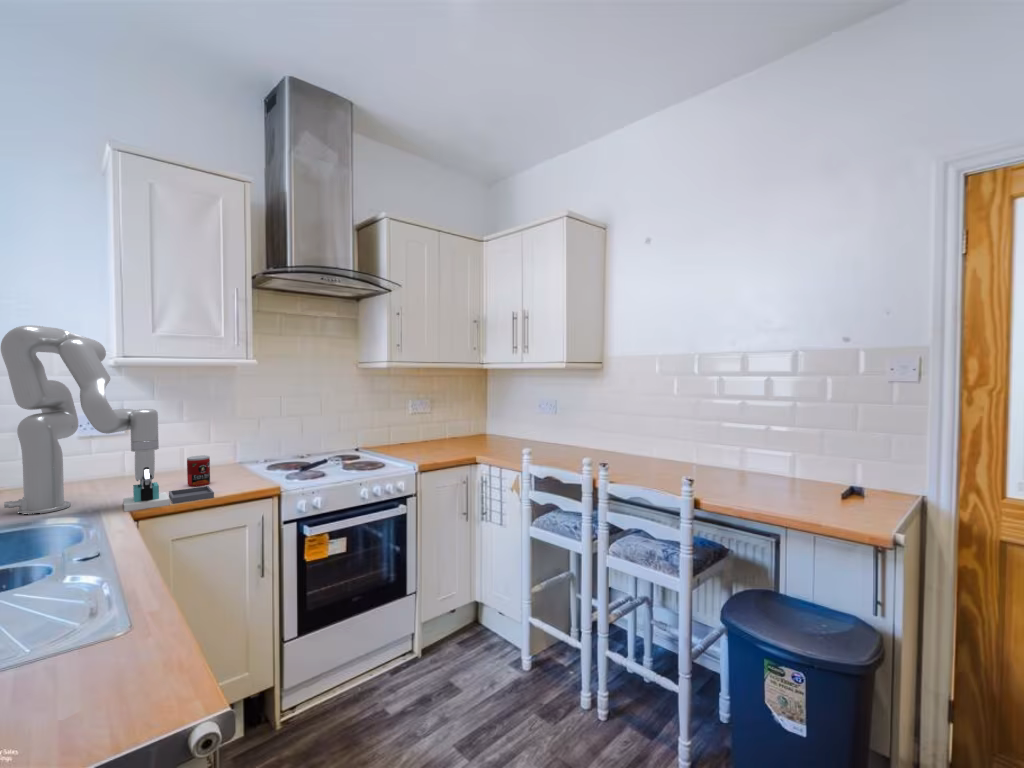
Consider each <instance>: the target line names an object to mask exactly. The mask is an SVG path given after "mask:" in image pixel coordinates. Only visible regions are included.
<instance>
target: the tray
mask: <svg viewBox="0 0 1024 768" xmlns="http://www.w3.org/2000/svg"><path fill="white" fill-rule="evenodd" d="M168 497H169V499H170V502H171V501H172V502H171V504H173V505H175V504H180V503H187V502H194V501H202V500H207V499H214V498H215V492H214V491H213V489H212V488H211V487H210V486H209V485H204V486H197V487H191V488H190V487H189V488H183V489H182V488H181V489H176V490H175V489H174V490H169V491H168Z"/></svg>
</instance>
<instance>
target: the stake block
mask: <svg viewBox="0 0 1024 768" xmlns="http://www.w3.org/2000/svg"><path fill="white" fill-rule="evenodd" d="M122 501H123V511H124V512H132V511H137V510H144V509H151V508H157V507H163V506H170V504H171V503H170V502H171V500H170V498H169V494H167V492H165V491H164V492H159V499H154V500H147V501H140V502H134V496H128V497H127V496H126V497H122Z"/></svg>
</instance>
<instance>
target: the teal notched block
mask: <svg viewBox="0 0 1024 768" xmlns="http://www.w3.org/2000/svg"><path fill="white" fill-rule="evenodd" d="M159 487H160V486H159V483H158V482H157V481H155V482H152V488H153V499H152V500H154V499H159V493H160V488H159ZM132 488H133V490H132V493H133V496H132V497H134V502H140V501H141V489H142V484H140V483H139V484H133V487H132Z"/></svg>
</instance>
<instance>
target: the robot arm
mask: <svg viewBox="0 0 1024 768" xmlns="http://www.w3.org/2000/svg"><path fill="white" fill-rule="evenodd" d="M0 353H1V356H2V360H3V363H4V365H5V367H6V371H7V374H8V379H9V383H10V386H11V391H12V393H13V397H14V400H15V402H16V405H18V407H20V408H21V409H23V410H29V411H33V410H41V412H40V413H35V414H34V413H33V414H30V415H27V416H26V417H24V418H23V419H21V420H20V422H19V423H18V425H17V431H16V433H17V437H18V441H19V443H20V444H19V445H20V449H21V459H22V460H21V464H22V485H23V497H22V498H19V499H17V500H11V501H10V500H9V501H4V502H3V506H4V507H3V508H4V509H14V508H18V509H16V511H17V512H19V513H29V514H28V515H35V514H34V513H40V514H46V513H52V512H57V511H61V510H65V509H67V508H69V507H71V501H68V500H65V488H64V486H65V484H64V459H63V458H64V457H63V450H62V447H61V445H60V442H59V440H62V439H63V440H64V439H66V438H69V437H71V436H73V435H74V434H75V433H76V432H77V431H78V428H79V417H78V413H77V410H76V406H75V403H74V399H73V396H72V395H73V394H72V392H71V390H70V389H69V387H68V386H67V385H66V384H64V383H63V382H60V381H59V380H52V379H48V377H47V374H46V370H45V366H44V364H43V363H42V361H41V360H40V359H39V358H38V356H37V353H50V354H51V353H52V354H56V355H59V357H60V359H62V361H63V363H64V365H65V367H66V368H67V370H68V371H69V372H70V375H71V376H72V378H73V379H74V381H75V382H76V384H77V386H78V387H79V399H80V400H79V401H80V406H81V410H82V412H83V413H84V415H85V417H86V419H87V420H88V422H89V423H90V425H91V426H92V427H93V429H95V430H96V431H97V432H99V433H101V434H106V435H107V434H108V435H109V434H114V433H119V432H125V431H130V451H131V452H134V477H135V478H134V479H135V481H136V482H139V484H142V489H141V501H147V500H152V499H153V488H152V483H153V481H152V480H154V479H155V468H156V467H155V465H156V464H155V463H156V461H155V459H156V458H155V457H156V454H155V451H157V450H159V448H160V445H159V441H160V440H159V415H158V411H157V410H156V409H153V408H141V409H140V408H139V409H132V408H118V409H117V408H116V409H113V408H112V406H111V405H110V402H109V401H108V399H107V397H106V388H107V386H108V384H109V383H110V382H111V375H109V372H108V371H107V370H106V368H105V366H104V364H103V361H104V360H105V358H106V356H107V351H106V348H105V346H104V345H103V344H102V343H101V342H99V341H97V340H95V339H92V338H89V337H86V336H84V335H80V334H78V333H74V332H71V331H68V330H66V329H63V328H62V329H61V328H58V327H51V326H43V325H42V326H41V325H32V324H31V325H30V324H29V325H28V324H27V325H20V326H17V327H14V328H12V329H10V330H9V331H7V333H5V335H4V336H3V338H2V340H1V342H0ZM32 513H33V514H32Z"/></svg>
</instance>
